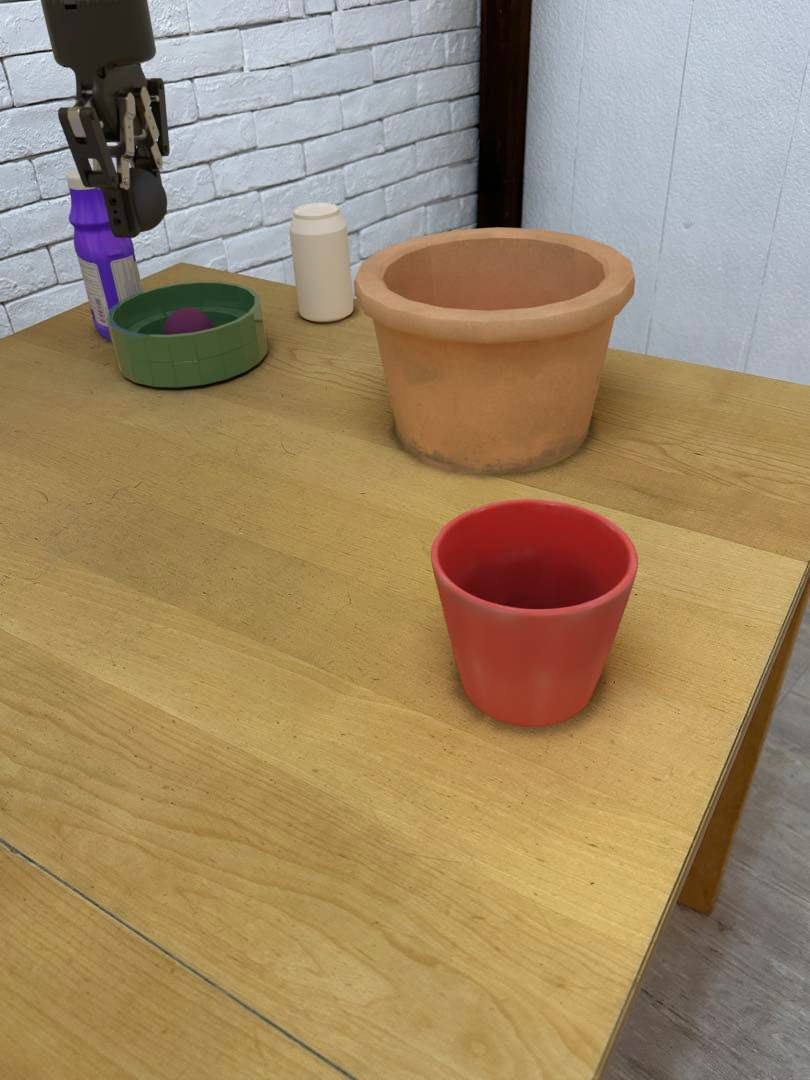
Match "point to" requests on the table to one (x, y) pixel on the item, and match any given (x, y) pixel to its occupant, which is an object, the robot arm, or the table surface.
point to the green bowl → (188, 334)
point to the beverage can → (321, 262)
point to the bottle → (100, 253)
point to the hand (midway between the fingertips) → (140, 225)
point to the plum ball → (187, 321)
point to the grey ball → (147, 198)
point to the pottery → (493, 342)
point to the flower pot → (532, 604)
